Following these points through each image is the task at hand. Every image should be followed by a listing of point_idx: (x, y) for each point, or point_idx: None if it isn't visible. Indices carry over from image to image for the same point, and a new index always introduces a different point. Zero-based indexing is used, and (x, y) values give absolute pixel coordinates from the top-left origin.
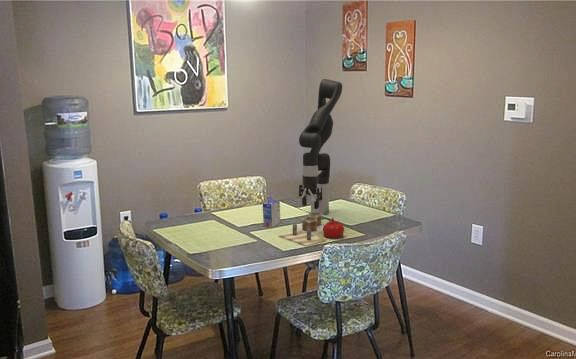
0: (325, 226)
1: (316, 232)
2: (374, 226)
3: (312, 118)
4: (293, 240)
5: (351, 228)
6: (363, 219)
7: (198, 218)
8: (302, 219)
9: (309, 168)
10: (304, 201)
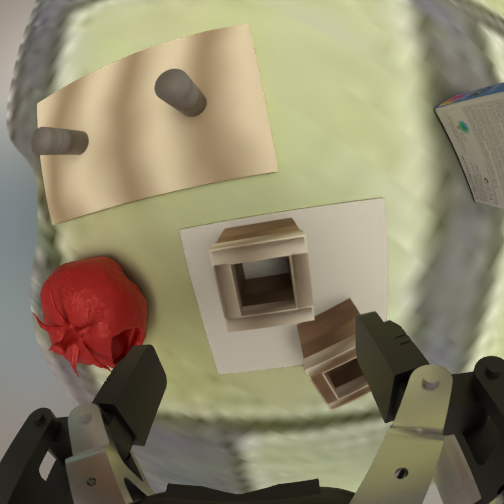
0: (78, 283)
1: (197, 264)
2: (187, 463)
3: None
4: (111, 63)
5: (197, 420)
6: (277, 477)
7: None
8: (296, 233)
9: None
10: (375, 364)
